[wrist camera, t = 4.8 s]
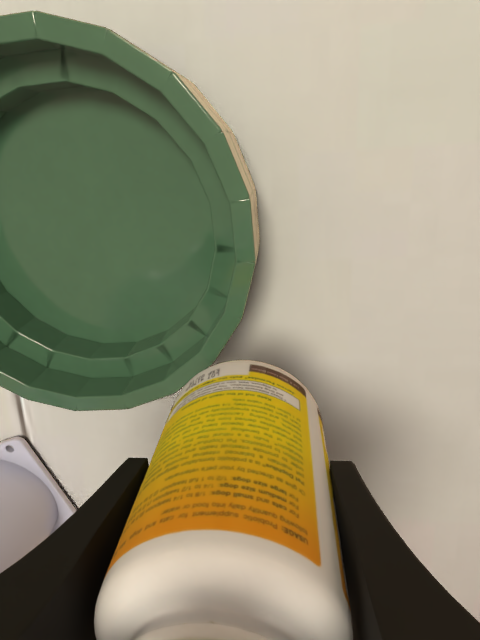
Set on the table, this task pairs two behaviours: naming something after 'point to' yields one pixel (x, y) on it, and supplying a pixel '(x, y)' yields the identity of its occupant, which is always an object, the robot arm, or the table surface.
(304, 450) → the supplement bottle
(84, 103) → the bowl
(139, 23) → the table surface
